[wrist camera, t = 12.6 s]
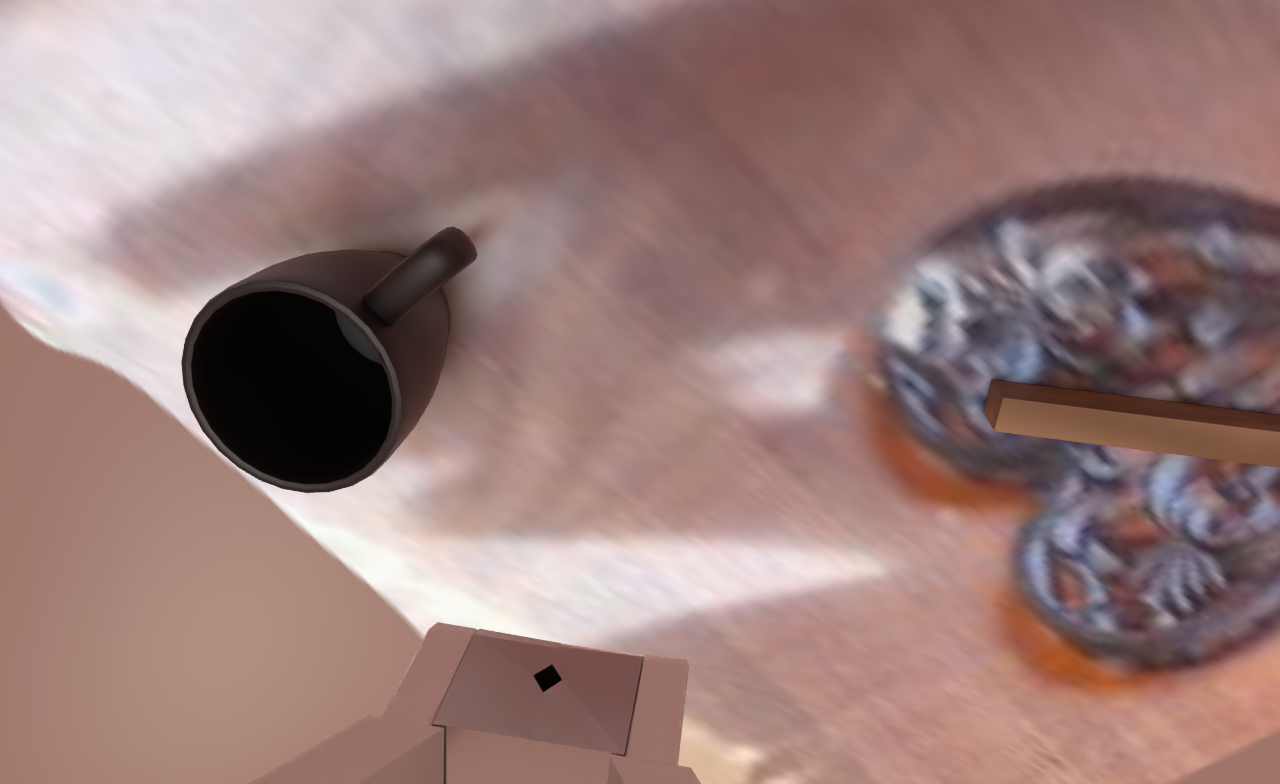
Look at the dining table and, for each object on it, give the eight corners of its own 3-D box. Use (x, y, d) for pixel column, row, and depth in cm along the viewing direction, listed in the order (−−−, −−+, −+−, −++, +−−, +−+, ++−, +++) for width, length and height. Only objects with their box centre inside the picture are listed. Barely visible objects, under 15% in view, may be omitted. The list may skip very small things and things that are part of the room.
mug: (581, 282, 39) (530, 358, 31) (389, 427, 43) (295, 532, 34) (455, 125, 37) (362, 159, 29) (266, 292, 41) (134, 367, 33)
